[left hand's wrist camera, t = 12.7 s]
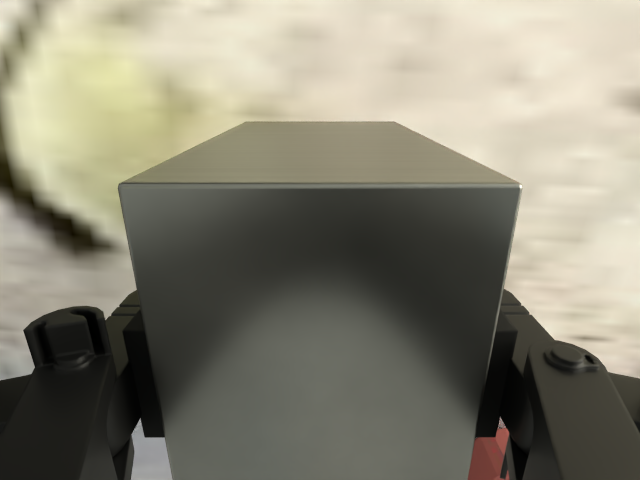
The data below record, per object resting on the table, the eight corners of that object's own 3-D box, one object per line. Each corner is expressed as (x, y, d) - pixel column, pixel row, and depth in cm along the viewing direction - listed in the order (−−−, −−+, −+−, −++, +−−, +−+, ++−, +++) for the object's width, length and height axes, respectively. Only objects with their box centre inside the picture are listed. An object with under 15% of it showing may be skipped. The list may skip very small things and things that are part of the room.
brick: (244, 121, 16) (114, 183, 6) (396, 121, 16) (526, 183, 6) (256, 307, 19) (185, 556, 9) (383, 307, 19) (454, 557, 9)
